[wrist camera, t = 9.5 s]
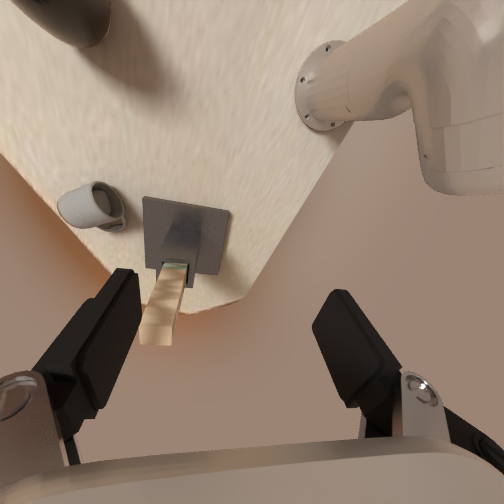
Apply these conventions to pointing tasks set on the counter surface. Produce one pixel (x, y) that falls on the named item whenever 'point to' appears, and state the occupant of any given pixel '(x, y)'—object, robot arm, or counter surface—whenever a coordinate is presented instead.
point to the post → (164, 305)
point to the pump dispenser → (70, 19)
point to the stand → (183, 236)
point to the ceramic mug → (92, 207)
